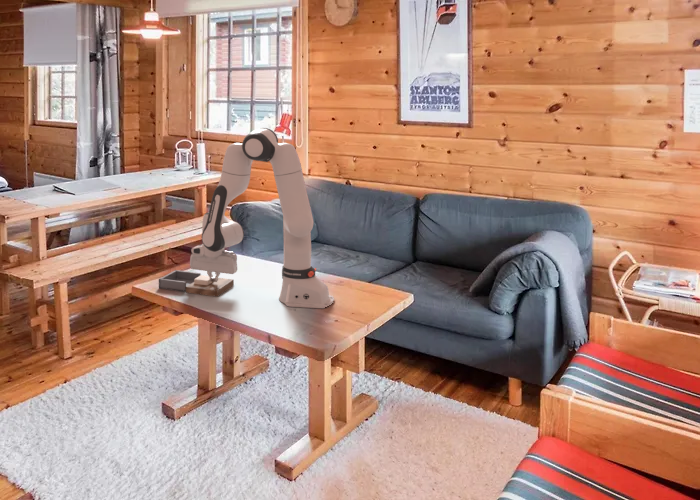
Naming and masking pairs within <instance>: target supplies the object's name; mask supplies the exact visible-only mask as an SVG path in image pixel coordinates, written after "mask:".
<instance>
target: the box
mask: <svg viewBox="0 0 700 500" xmlns="http://www.w3.org/2000/svg"><path fill="white" fill-rule="evenodd" d="M200 275H202V274H201V272H196V271H195V272H194V271H187V270H180V269H179V270H178V269H175V270H173V271H171V272H169V273H167V274H165V275H164V276H162V277H160V278H159V279H158V289H163V290H170V291H178V292H184V293H186V286H188V285H190V284H191V283H193V282H194V279H195V278H197V277H199V276H200Z"/></svg>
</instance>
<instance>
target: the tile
mask: <svg viewBox="0 0 700 500" xmlns="http://www.w3.org/2000/svg"><path fill="white" fill-rule="evenodd" d="M210 283H212V281H210V277H209V276H208V275H205V274H204V275H203V274H201V275H200V276H199V277H197V278H195V279H194V284H201V285H209V284H210Z"/></svg>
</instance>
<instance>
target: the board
mask: <svg viewBox="0 0 700 500" xmlns="http://www.w3.org/2000/svg"><path fill="white" fill-rule="evenodd" d="M234 285H235V284H234V279H232V278H231V279H230V278H224V277H218V281H217V282H212V283H210V284H209V285H201V284H194V282H193V283H191V284H190V285H188V286H186V291H185V293H187V294H194V295H201V296H202V295H203V296H210V297H218V296H220V295H222V294H223V293H224V292H226V291H227V290H229V289H230V288H231V287H234Z"/></svg>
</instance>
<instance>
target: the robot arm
mask: <svg viewBox="0 0 700 500" xmlns="http://www.w3.org/2000/svg"><path fill="white" fill-rule="evenodd" d="M254 161H255V162H256V161H257V162H264V163H268V162H269V163H270V164H271V167H272V171H273V172H272V173H273V176H274V181H275V185H276V189H277V195H278V199H279V203H280V208H281V211H282V215H283V216H282V218H283V219H282V220H283V225H282V227H283V228H282V229H283V231H282V233H283V265H282V269H281V278H282V283H281V284H282V285H281V290H280V295H279V296H278V300H279V301H280V302H281V303H283V304H285V306H286V307H293V308H309V309H310V308H311V309H325V307H327V306H329V305H331V304H332V303H334V302H335V298H334V295H331V294H330V291H329V288H328V285H327V284H326V283H325V282H324V281H322V280H321V279H320V278H319V277H318V276H316V271H317V267H315V268H314V267H313V266H312V239H311V238H312V234H311V232H312V230H313V227H314V217H313V214H312V213H313V212H312V209H311V205H310V200H309V196H308V192H307V188H306V183H305V178H304V173H303V168H302V164H301V161H300V156H299V155H298V152H297V149H296V147H295V146H294V145H293V144H291V143H288V142H282V143H280V142H279V139H278V136H277V134H276V132H275V131H273V130H272V129H270V128H267V127H260V128H258V129H254V130H252V131H251V132H250V133H249V134H246V136H244V138H243V140H242V143H240V142H234V143H231V144H229V145H228V146H227V148H226V149H225V154H224V156H223V161H222V167H221V173H220V179H219V182H218V185H217V186H216V188H215V189H214V191H213V194H212V197H211V201H210V207H209V209H208V210H209V211H208V212H206V213H204V214H203V217H202V223H201V225H202V226H201V227H202V228H201V230H202V231H201V241H202V244H198V245H196V246H194V247H192V248H191V255H190V256H189V257H190V258H189V267H190V268H191V270H197V271H204V272H206V273H207V276H209V277H210V281H212V282H217V281H218V278H220V277H219V276H220V275H221V274H228V275H234V274H235V273H237V272H238V262H237V261H238V256H237V254H236V253H235V252H234V251H228V250H225V249H226V248H229V247H233V246H236V245H238V244H240V243H242V241H243V239H244V236H245V235H244V229H243V226H242V225H241V224H240V223H239V222H238V221H234V220H232V219H230V218H228V217H227V216H226V215H225V213H226V210H227V208H228V205H229V204H231V202H232V201H233V200H234V199H236V198H237V197H239V196H241V195H242V194H243V193H245V191H246V190H247V189H248V187H249V184H250V181H251V174H252V173H251V170H252V164H253V162H254ZM213 273H214V274H215V276H214V275H213ZM333 301H334V302H333ZM332 305H333V304H332ZM332 305H331V306H332ZM329 307H330V306H329ZM327 308H328V307H327Z"/></svg>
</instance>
